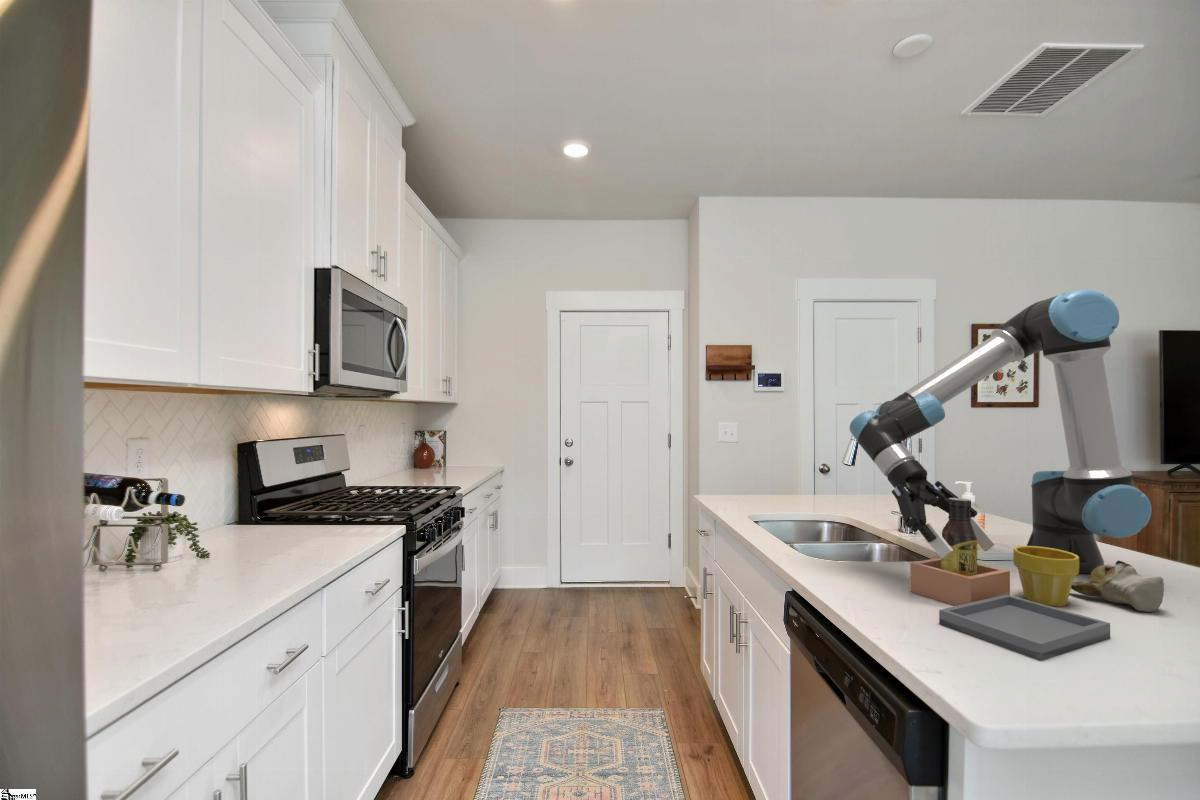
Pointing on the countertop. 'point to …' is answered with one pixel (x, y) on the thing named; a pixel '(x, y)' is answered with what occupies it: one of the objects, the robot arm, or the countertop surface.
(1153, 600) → the ceramic sculpture
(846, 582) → the countertop surface
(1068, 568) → the plant pot
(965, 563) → the sauce bottle
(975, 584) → the terracotta holder
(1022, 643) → the grey tray
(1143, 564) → the countertop surface
